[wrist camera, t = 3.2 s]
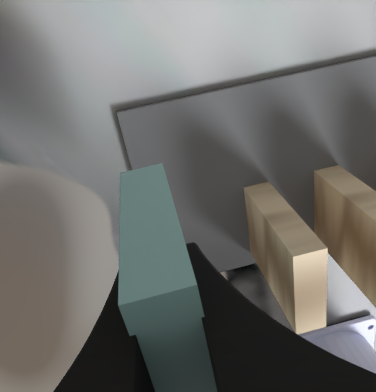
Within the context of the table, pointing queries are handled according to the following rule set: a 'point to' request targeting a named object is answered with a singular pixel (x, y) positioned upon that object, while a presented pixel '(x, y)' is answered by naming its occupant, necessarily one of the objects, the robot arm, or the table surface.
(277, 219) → the domino
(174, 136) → the domino mat
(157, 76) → the table surface
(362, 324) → the robot arm
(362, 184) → the domino
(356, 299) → the table surface
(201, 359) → the domino
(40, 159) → the table surface
